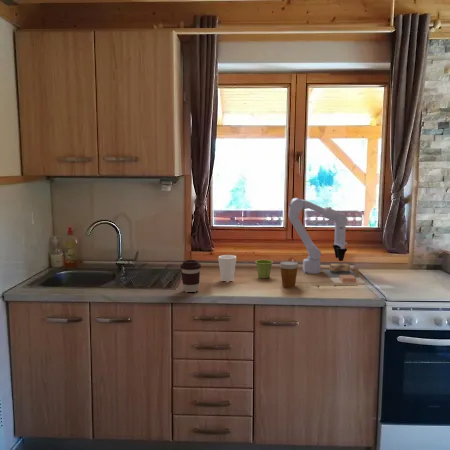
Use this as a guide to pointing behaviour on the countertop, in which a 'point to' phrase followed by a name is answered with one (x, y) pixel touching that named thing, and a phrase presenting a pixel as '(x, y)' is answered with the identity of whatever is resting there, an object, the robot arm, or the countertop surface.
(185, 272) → the coffee cup
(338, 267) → the block
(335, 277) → the board
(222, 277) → the foam cup
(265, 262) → the plant pot
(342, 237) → the robot arm
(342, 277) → the tile
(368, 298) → the countertop surface
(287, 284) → the disposable coffee cup
